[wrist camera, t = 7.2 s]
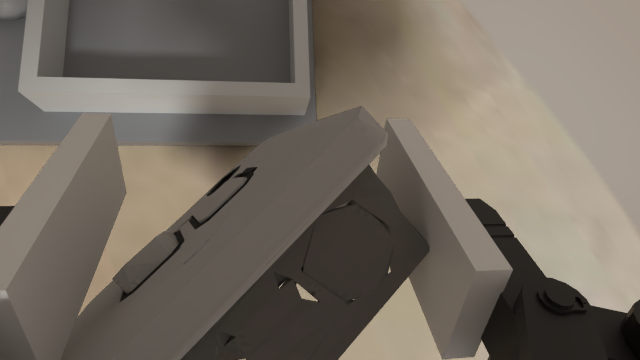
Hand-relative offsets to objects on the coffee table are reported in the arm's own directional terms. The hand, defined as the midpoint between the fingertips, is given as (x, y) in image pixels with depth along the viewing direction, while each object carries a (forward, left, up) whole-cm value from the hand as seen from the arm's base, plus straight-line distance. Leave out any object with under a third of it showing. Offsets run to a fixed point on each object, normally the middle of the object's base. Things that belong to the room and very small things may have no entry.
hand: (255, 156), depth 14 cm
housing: (-6, +13, -13) cm, 19 cm away
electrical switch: (-1, -3, -4) cm, 5 cm away
